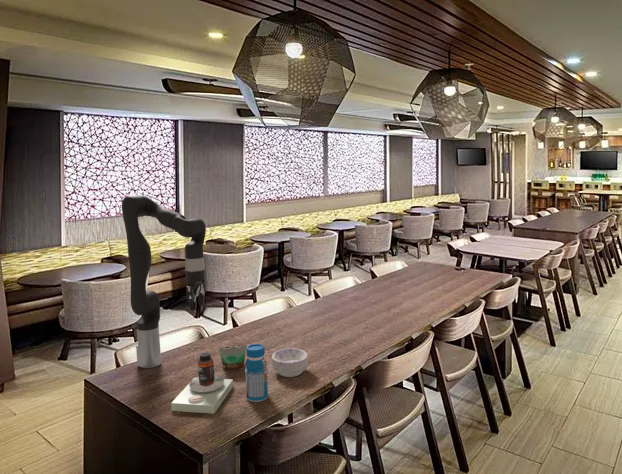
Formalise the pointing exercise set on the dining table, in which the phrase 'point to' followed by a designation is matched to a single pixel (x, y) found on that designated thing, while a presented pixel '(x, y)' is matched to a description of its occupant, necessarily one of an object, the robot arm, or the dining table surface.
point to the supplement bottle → (206, 369)
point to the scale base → (201, 399)
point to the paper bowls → (289, 362)
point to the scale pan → (201, 388)
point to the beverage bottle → (256, 373)
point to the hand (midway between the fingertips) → (197, 307)
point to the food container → (233, 357)
